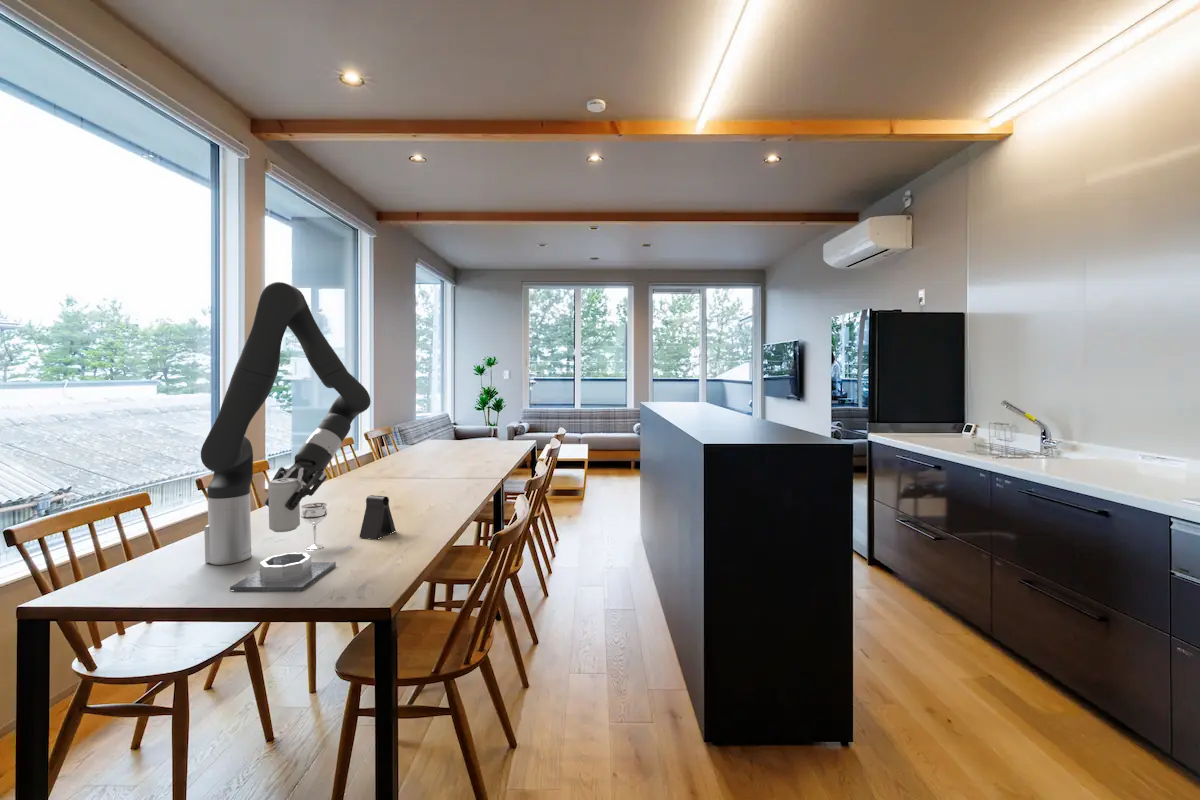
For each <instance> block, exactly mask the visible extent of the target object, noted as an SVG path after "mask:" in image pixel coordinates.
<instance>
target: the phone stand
mask: <svg viewBox="0 0 1200 800" xmlns="http://www.w3.org/2000/svg"><path fill="white" fill-rule="evenodd" d="M365 499H366V500H365V504H366V505H365V509H364V510H365V511H364V515H363V519H362V524H361V529H360V532H359V538H360V537H362V538H361V539H365V538H370V539H369V540H373V539H377V540H379V539H378V538H380V537H382V538H384V537H383V536H385V535H387V536H389V535H391V534H390V533H392V532H394V531H397V530H396V527H395V523H394V518H393V517H392V512H391V508H390V499H389V497H388V496H383V495H368V496H367V497H366V498H365ZM394 533H395V532H394ZM388 534H389V535H388ZM392 534H393V533H392ZM385 537H386V536H385ZM380 539H381V538H380Z"/></svg>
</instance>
